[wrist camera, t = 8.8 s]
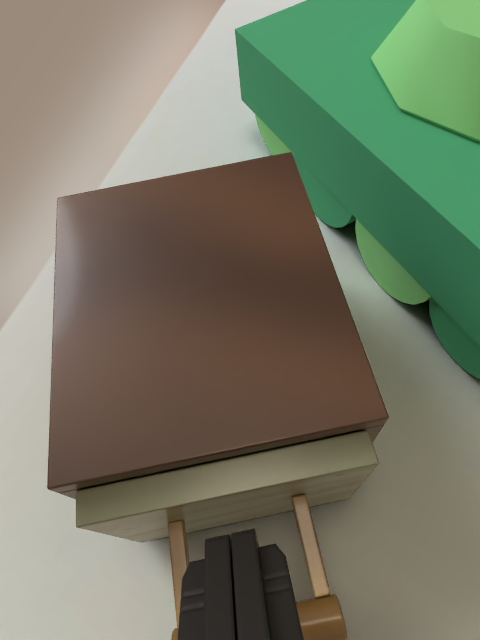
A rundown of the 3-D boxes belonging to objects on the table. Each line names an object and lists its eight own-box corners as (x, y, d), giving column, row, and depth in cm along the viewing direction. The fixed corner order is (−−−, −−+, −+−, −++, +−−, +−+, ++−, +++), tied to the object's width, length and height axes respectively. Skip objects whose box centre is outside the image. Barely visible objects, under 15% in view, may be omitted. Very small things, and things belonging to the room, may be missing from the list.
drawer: (384, 616, 19) (438, 638, 13) (148, 667, 19) (74, 718, 12) (289, 290, 28) (291, 200, 21) (126, 323, 28) (76, 243, 21)
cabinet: (351, 474, 23) (389, 418, 15) (132, 520, 23) (46, 489, 15) (289, 268, 30) (291, 150, 22) (119, 302, 30) (56, 197, 21)
